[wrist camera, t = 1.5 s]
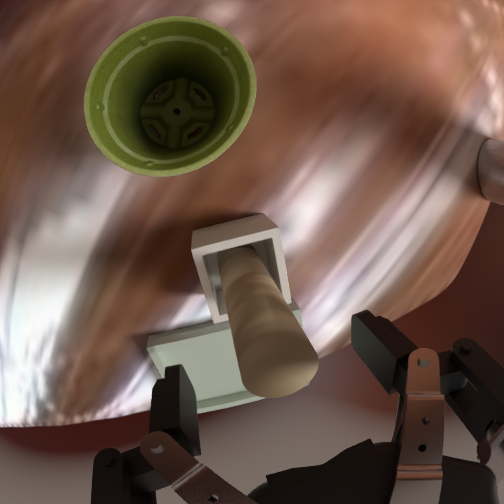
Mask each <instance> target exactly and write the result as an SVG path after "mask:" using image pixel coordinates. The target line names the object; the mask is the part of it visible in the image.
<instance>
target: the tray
mask: <svg viewBox="0 0 504 504" xmlns="http://www.w3.org/2000/svg"><path fill="white" fill-rule="evenodd" d="M291 302H292V303H290V304H288V306H289V307H290V309H291V311H292V312H293V314H294V316H295V318H296V319H297V321H298V323H299V324H300V326H301V328H302V329H303V326H302V318H301V311H300V308H299V306H298V305H297V303H296V302H295V300H294V299H292V300H291ZM146 349H147V351H148V353H149V354H150V356H151V358H152V360H153V362H154V364H155V366H156V368H157V369H158V371H159V373H160V375H161V377H162V378H164V374H165V367H167V366H172V365H177V364H182V365H183V367H184V369H185V371H186V373H187V375H188V377H189V379H190V381H191V383H192V385H193V387H194V390H195V394H196V401H197V413H203V412H208V411H213V410H218V409H223V408H227V407H232V406H236V405H240V404H244V403H249V402H253V401H256V400H260V399H264V397H259V396H256V395H254V394H252V393H250V392H249V391H248V390H247V389H246V388H245V387H244V385H243V383H242V380H241V375H240V371H239V366H238V362H237V357H236V352H235V348H234V343H233V338H232V334H231V329H230V324H229V320H228V321H224V322H220V323H216V324H214V322H213V321H211V322H207V323H202V324H198V325H194V326H190V327H185V328H181V329H177V330H172V331H168V332H163V333H159V334H154V335H149V336H148V340H147V345H146ZM306 385H309V382H308V383H307V384H306ZM306 385H305V386H306Z"/></svg>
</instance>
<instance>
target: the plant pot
mask: <svg viewBox="0 0 504 504" xmlns="http://www.w3.org/2000/svg"><path fill="white" fill-rule="evenodd" d="M162 88H167V90H166V91H165V92H163V93H162V94H160V95H159V96H158V97H156V99H154V96H155V95H156V93H157V92H158V91H159V90H161V89H162ZM194 89H198V90H200V91H201V92H202V93H203V94H204V96H205V100H204V101H203V100H202V99H201V97H200V96H199V95H198V94H197V92H195V91H194ZM256 89H257V83H256V74H255V70H254V66H253V63H252V61H251V58H250V56H249V54H248V53H247V51H246V49H245V48H244V46H243V45H242V44H241V43H240V42H239V41H238V40H237V39H236V38H235V37H234V36H233V35H232V34H231V33H230V32H228V31H227V30H226V29H224V28H222V27H220V26H219V25H217V24H214V23H212V22H210V21H206V20H204V19H200V18H195V17H187V16H171V17H163V18H158V19H154V20H151V21H147V22H145V23H142V24H140V25H138V26H136V27H134V28H132V29H130V30H128V31H127V32H125V33H124V34H122V35H121V36H120V37H118V38H117V39H116V40H115V41H114V42H113V43H112V44H111V45H110V46H109V47H108V48H107V49H106V50H105V51H104V52H103V53H102V55H101V56H100V58H99V59H98V61H97V63H96V64H95V66H94V68H93V70H92V71H91V73H90V76H89V78H88V82H87V85H86V89H85V95H84V116H85V122H86V126H87V129H88V132H89V134H90V136H91V138H92V140H93V142H94V143H95V145H96V146H97V147H98V149H99V150H100V151H101V152H102V153H103V154H104V155H105V156H106V157H107V158H108V159H109V160H110V161H112V162H113V163H115V164H116V165H118V166H119V167H121V168H123V169H125V170H127V171H130V172H132V173H136V174H140V175H145V176H153V177H168V176H175V175H181V174H184V173H188V172H191V171H193V170H196V169H199V168H201V167H203V166H205V165H206V164H208V163H210V162H211V161H213V160H215V159H216V158H217V157H219V156H220V155H221V154H222V153H224V152H225V151H226V150H227V149H228V148H229V147H230V146H231V145H232V144H233V143H234V142H235V140H236V139H237V138H238V137H239V135H240V134H241V133H242V131H243V129H244V128H245V126H246V124H247V122H248V120H249V118H250V116H251V113H252V110H253V107H254V103H255V98H256ZM175 109H179V110H180V113H179V114H178V115H176V114H175V113H174V110H175ZM150 125H153V126H154V128H155V129H156V130H157V131H158V133H160V134H161V137H157V136H156V135H155V133H153V132H152V131H151V130H150ZM198 127H202V130H201V132H200V133H198V134H197V135H196V136H194V137H193V138H188V135H190V134H191V133H193V132H194V131H196V130H197V128H198Z"/></svg>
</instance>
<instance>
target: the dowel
mask: <svg viewBox="0 0 504 504" xmlns="http://www.w3.org/2000/svg"><path fill="white" fill-rule="evenodd" d="M217 262H218V267H219V273H220V278H221V283H222V289H223V294H224V299H225V304H226V309H227V314H228V319H229V324H230V329H231V334H232V338H233V343H234V348H235V352H236V357H237V362H238V366H239V371H240V375H241V380H242V383H243V385H244V387H245V388H246V389H247V390H248V391H249V392H250V393H252V394H254V395H256V396H259V397H264V398H277V397H282V396H286V395H289V394H292V393H294V392H296V391H298V390H299V389H301V388H302V387H304V386H305V385H306V384H307V383H308V382H309V381H310V380H311V379H312V378H313V376H314V375H315V373H316V371H317V368H318V362H319V361H318V355H317V353H316V351H315V350H314V348H313V346H312V345H311V343H310V341H309V339H308V338H307V336H306V334H305V333H304V331H303V329H302V328H301V326H300V324H299V323H298V321H297V319H296V318H295V316H294V314H293V312H292V311H291V309H290V307H289V306H288V304H287V302H286V301H285V299H284V297H283V296H282V294H281V292H280V291H279V289H278V287H277V285H276V284H275V282H274V280H273V279H272V277H271V275H270V274H269V272H268V270H267V269H266V267H265V265H264V264H263V262H262V260H261V259H260V257H259V255H258V254H257V252H256V250H255V249H254V247H253V246H252V245H251V244H250V243H248V244H245V245H241V246H237V247H233V248H229V249H225V250H221V251H219V252H218V256H217Z"/></svg>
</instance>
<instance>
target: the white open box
mask: <svg viewBox="0 0 504 504" xmlns="http://www.w3.org/2000/svg"><path fill="white" fill-rule="evenodd" d="M248 243H250V244H251V245H252V246H253V247H254V249H255V250H256V252H257V254H258V255H259V257H260V259H261V260H262V262H263V264H264V265H265V267H266V269H267V270H268V272H269V274H270V275H271V277H272V279H273V280H274V282H275V284H276V285H277V287H278V289H279V291H280V292H281V294H282V296H283V297H284V299H285V301H286V302H287V304H290V303H292V302H291V296H290V289H289V283H288V277H287V271H286V265H285V259H284V253H283V247H282V242H281V236H280V230H279V227H278V226H277V225H276V224H275V223H274V222H273V221H271V220H270V219H269V218H268V217H267V216H266V215H265V214H264V213H262V214H258V215H254V216H249V217H245V218H241V219H237V220H233V221H229V222H225V223H221V224H217V225H213V226H209V227H205V228H201V229H198V230H194V231H192V243H191V251H192V255H193V258H194V262H195V265H196V268H197V272H198V275H199V278H200V281H201V285H202V288H203V291H204V294H205V297H206V300H207V304H208V307H209V310H210V313H211V316H212V319H213V322H214V324H216V323H220V322H224V321H228V320H229V319H228V314H227V309H226V304H225V299H224V294H223V289H222V283H221V278H220V273H219V267H218V262H217V256H218V252H219V251H221V250H225V249H229V248H233V247H237V246H241V245H245V244H248Z"/></svg>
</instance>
